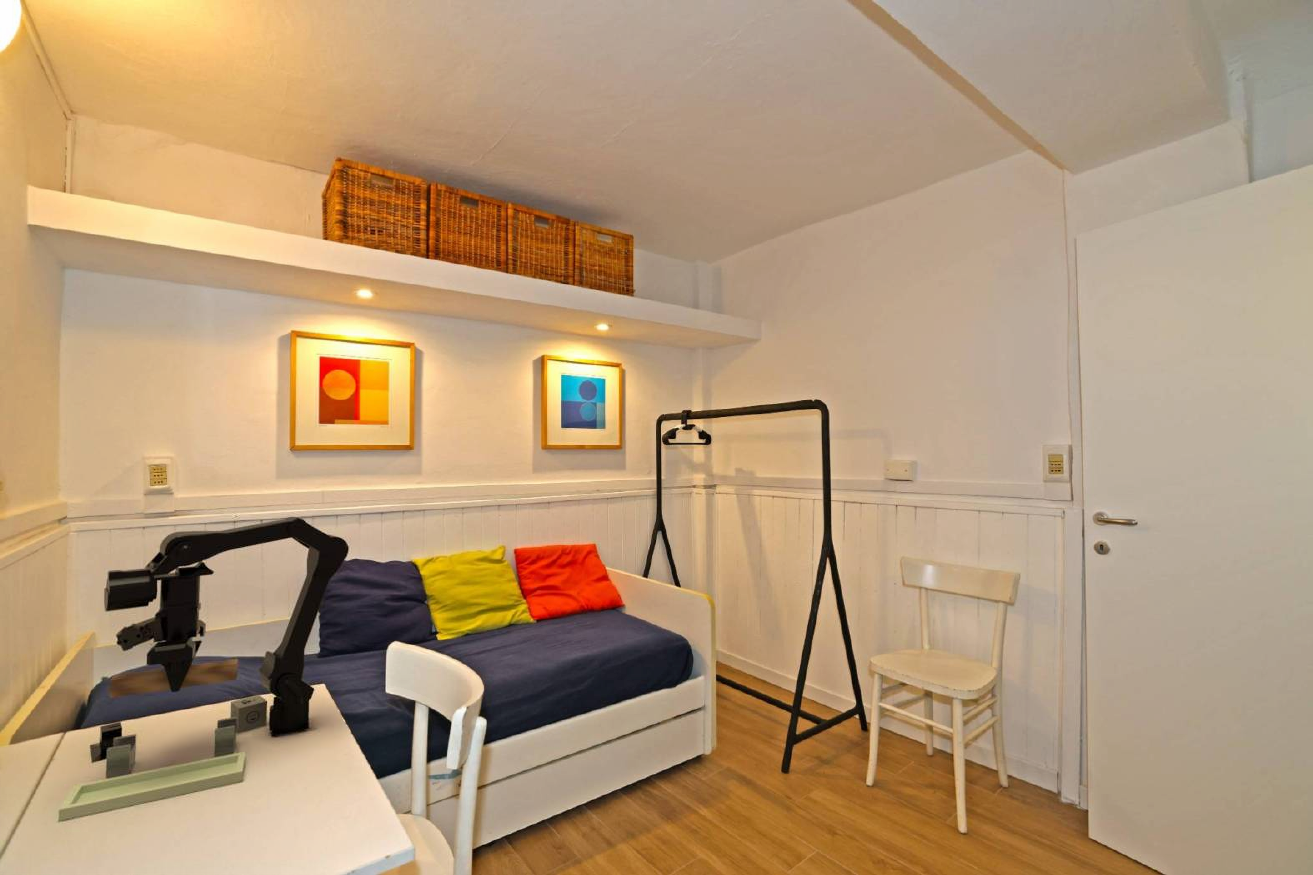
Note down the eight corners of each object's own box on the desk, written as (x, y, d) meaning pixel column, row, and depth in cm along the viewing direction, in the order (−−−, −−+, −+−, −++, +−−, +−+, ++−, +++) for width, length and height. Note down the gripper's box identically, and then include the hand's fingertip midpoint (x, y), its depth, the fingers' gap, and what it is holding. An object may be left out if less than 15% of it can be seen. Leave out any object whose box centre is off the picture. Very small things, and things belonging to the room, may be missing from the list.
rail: (237, 674, 117) (237, 658, 117) (236, 679, 114) (236, 663, 114) (114, 692, 108) (114, 674, 108) (109, 697, 105) (110, 680, 105)
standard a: (236, 742, 118) (236, 716, 118) (233, 754, 113) (234, 726, 113) (217, 746, 116) (217, 719, 116) (213, 758, 112) (214, 730, 112)
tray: (245, 760, 111) (245, 751, 111) (242, 781, 104) (242, 771, 104) (74, 795, 99) (75, 784, 99) (58, 821, 92) (58, 809, 92)
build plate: (138, 756, 113) (139, 731, 113) (84, 770, 108) (85, 744, 108) (131, 734, 122) (132, 711, 122) (81, 746, 117) (82, 722, 117)
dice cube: (230, 726, 125) (230, 701, 125) (258, 718, 129) (258, 694, 129) (238, 733, 122) (238, 708, 122) (266, 725, 126) (267, 700, 126)
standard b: (135, 762, 110) (136, 733, 110) (128, 775, 106) (129, 745, 106) (113, 766, 108) (114, 737, 109) (105, 779, 104) (106, 749, 104)
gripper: (134, 596, 115) (131, 679, 115) (108, 619, 99) (104, 716, 99) (207, 590, 121) (204, 669, 121) (193, 611, 105) (190, 703, 105)
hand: (177, 688), depth 111 cm, fingers closed on rail, 3 cm apart
